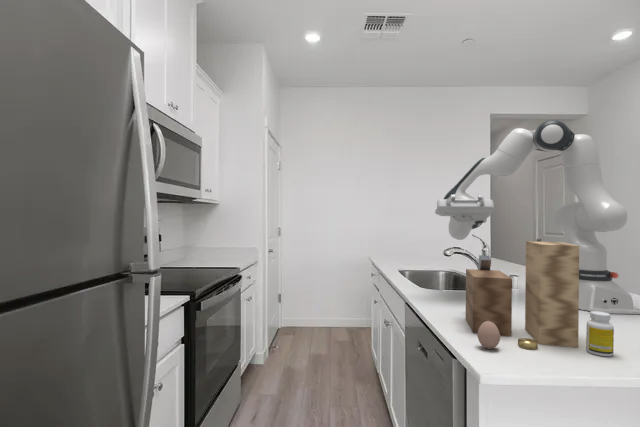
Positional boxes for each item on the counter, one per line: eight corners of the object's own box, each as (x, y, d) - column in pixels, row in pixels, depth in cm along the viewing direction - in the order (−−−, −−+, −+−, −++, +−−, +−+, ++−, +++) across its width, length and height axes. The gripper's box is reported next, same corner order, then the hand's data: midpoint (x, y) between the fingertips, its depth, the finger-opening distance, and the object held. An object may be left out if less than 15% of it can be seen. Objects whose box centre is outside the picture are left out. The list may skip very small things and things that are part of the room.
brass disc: (534, 345, 99) (534, 338, 99) (540, 351, 94) (540, 344, 94) (516, 344, 100) (516, 337, 100) (520, 349, 96) (520, 342, 96)
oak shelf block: (559, 332, 110) (560, 242, 110) (578, 347, 97) (579, 245, 97) (525, 329, 112) (525, 241, 112) (539, 344, 99) (540, 244, 99)
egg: (498, 353, 92) (498, 325, 92) (475, 349, 95) (476, 322, 95) (501, 347, 96) (501, 320, 96) (479, 343, 99) (479, 317, 99)
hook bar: (471, 255, 124) (472, 259, 121) (497, 255, 123) (499, 260, 120) (465, 308, 132) (467, 313, 129) (490, 309, 131) (492, 315, 128)
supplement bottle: (618, 358, 90) (618, 316, 90) (592, 356, 91) (593, 315, 91) (606, 350, 95) (606, 311, 95) (582, 348, 96) (582, 309, 97)
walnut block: (498, 320, 121) (499, 270, 121) (511, 336, 105) (512, 278, 105) (465, 318, 123) (466, 269, 123) (472, 333, 108) (473, 276, 108)
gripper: (434, 208, 154) (436, 189, 143) (489, 208, 149) (495, 188, 138) (435, 221, 151) (437, 203, 140) (490, 222, 146) (497, 203, 135)
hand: (466, 196), depth 139 cm, fingers open, 8 cm apart
